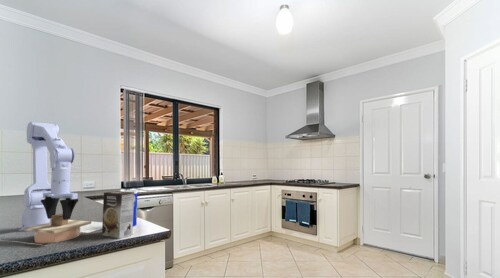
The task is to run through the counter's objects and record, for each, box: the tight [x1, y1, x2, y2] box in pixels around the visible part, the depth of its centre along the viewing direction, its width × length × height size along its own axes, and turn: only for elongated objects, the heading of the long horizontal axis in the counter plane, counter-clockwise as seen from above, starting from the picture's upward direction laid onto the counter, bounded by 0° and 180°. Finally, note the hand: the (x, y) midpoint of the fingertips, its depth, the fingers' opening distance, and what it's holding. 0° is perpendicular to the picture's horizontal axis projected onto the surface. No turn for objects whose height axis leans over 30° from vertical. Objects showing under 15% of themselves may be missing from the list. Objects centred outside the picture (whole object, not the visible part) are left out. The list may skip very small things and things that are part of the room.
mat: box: [80, 220, 103, 234], centre depth 110 cm, size 15×15×1 cm
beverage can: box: [124, 189, 138, 227], centre depth 112 cm, size 5×5×15 cm
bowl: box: [33, 227, 81, 245], centre depth 95 cm, size 13×13×4 cm
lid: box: [25, 213, 91, 234], centre depth 96 cm, size 14×14×4 cm
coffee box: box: [101, 190, 134, 240], centre depth 99 cm, size 9×6×16 cm
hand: (58, 218), depth 95 cm, fingers open, 7 cm apart
